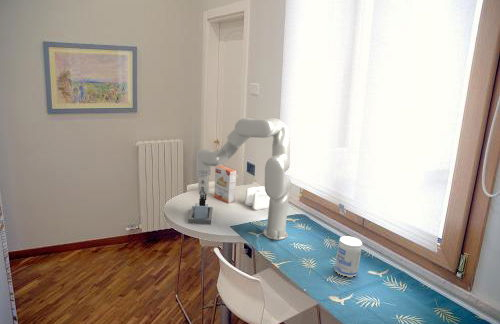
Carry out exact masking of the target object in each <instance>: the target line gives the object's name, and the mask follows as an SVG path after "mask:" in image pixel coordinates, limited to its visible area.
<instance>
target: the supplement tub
mask: <svg viewBox="0 0 500 324" xmlns="http://www.w3.org/2000/svg"><path fill="white" fill-rule="evenodd" d="M362 250H363V242H362V240H360V239H359V238H357V237H353V236H348V235H347V236H341V237H340V238H339V241H338V246H337V252H336V257H335V262H334V263H335V264H334V272H335V273H336V272H337V273H336V274H338V275H339V274H340V275H339V276H341V275H343V276H342V277H344V276H347V277H346V278H354V277H353V276H355V277H357V276H358V273H359V266H360V260H361V255H362V254H361V253H362Z"/></svg>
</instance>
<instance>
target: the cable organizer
mask: <svg viewBox="0 0 500 324" xmlns="http://www.w3.org/2000/svg"><path fill="white" fill-rule="evenodd" d="M269 200H270V197H269V196H268V195H267V194H266V191H265V185H264V186H263V185H262V186H252V187H247V188H246V190H245V201H244V203H245V205H246V206H249V207H251V206H252V209H253V210H255V211H261V210H264V209H265V210H269Z"/></svg>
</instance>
